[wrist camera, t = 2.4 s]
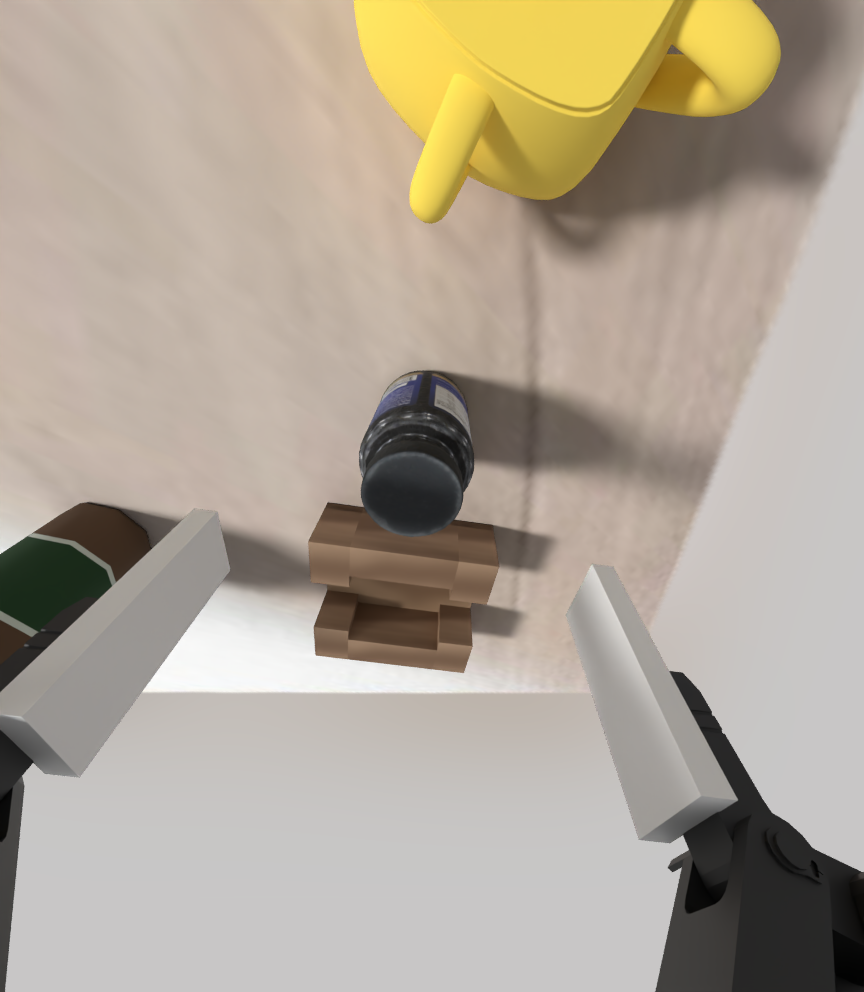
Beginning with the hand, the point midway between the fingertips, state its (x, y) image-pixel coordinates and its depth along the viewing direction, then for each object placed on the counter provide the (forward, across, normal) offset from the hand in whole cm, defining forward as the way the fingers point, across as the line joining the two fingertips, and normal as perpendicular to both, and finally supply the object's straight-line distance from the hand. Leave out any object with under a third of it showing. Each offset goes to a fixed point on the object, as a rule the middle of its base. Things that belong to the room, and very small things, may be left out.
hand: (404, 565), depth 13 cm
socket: (+15, 0, -16) cm, 22 cm away
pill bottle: (+15, 0, 0) cm, 15 cm away
